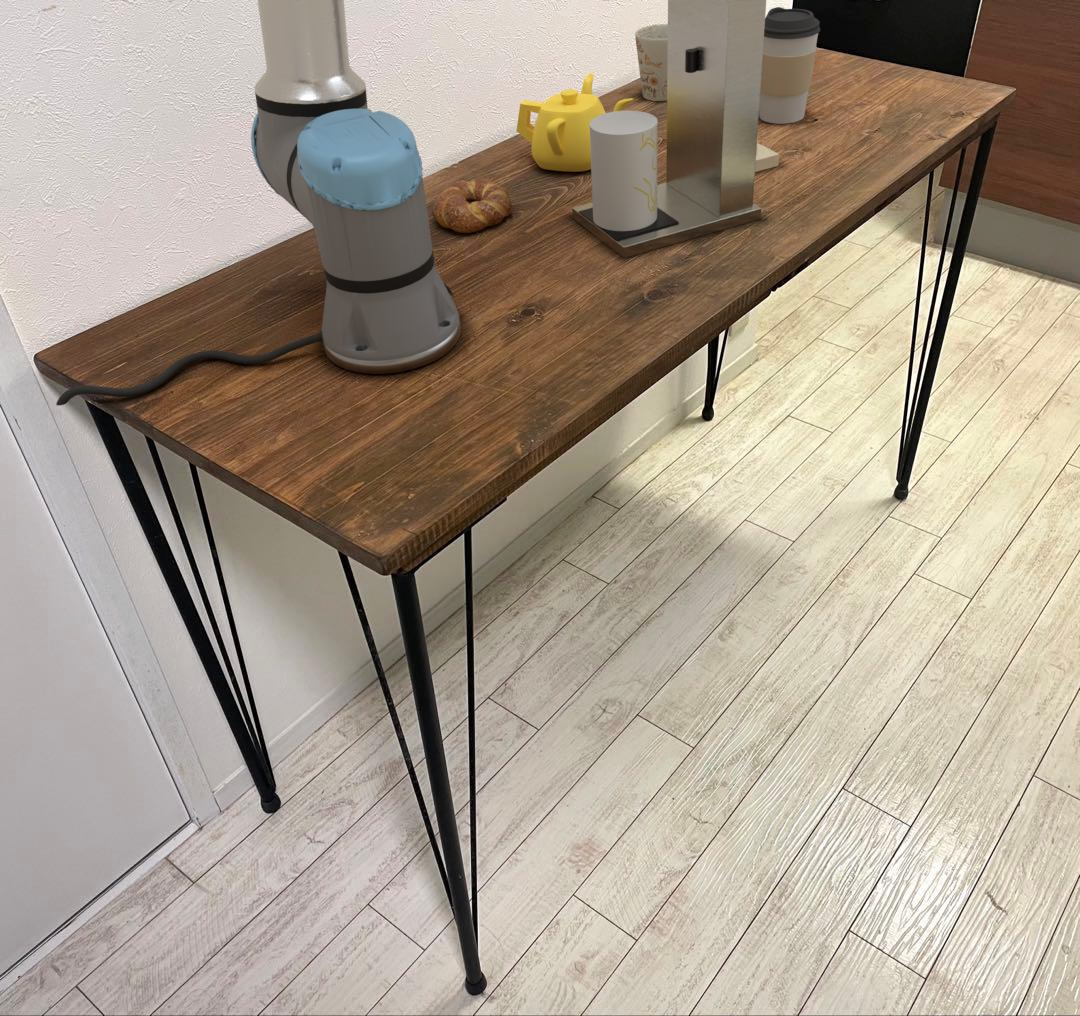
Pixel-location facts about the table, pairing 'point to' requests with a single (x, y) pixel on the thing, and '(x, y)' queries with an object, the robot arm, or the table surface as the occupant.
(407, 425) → the table surface
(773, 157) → the cream triangular wedge
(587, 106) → the teapot
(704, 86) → the coffee machine
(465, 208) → the pretzel
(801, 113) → the coffee cup
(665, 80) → the mug
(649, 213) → the cup
